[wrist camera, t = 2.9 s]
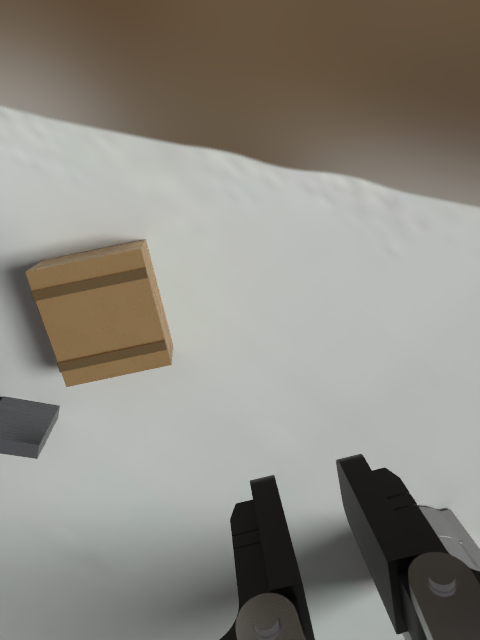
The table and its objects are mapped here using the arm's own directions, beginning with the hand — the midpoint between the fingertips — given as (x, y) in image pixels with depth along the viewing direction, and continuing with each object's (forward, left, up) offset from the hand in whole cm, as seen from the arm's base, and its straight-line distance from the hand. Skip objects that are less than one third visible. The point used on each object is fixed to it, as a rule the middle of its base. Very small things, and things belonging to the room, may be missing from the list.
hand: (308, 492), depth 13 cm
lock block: (+10, 0, -25) cm, 27 cm away
